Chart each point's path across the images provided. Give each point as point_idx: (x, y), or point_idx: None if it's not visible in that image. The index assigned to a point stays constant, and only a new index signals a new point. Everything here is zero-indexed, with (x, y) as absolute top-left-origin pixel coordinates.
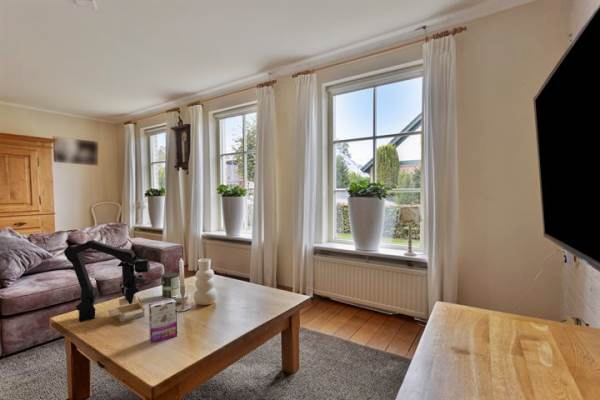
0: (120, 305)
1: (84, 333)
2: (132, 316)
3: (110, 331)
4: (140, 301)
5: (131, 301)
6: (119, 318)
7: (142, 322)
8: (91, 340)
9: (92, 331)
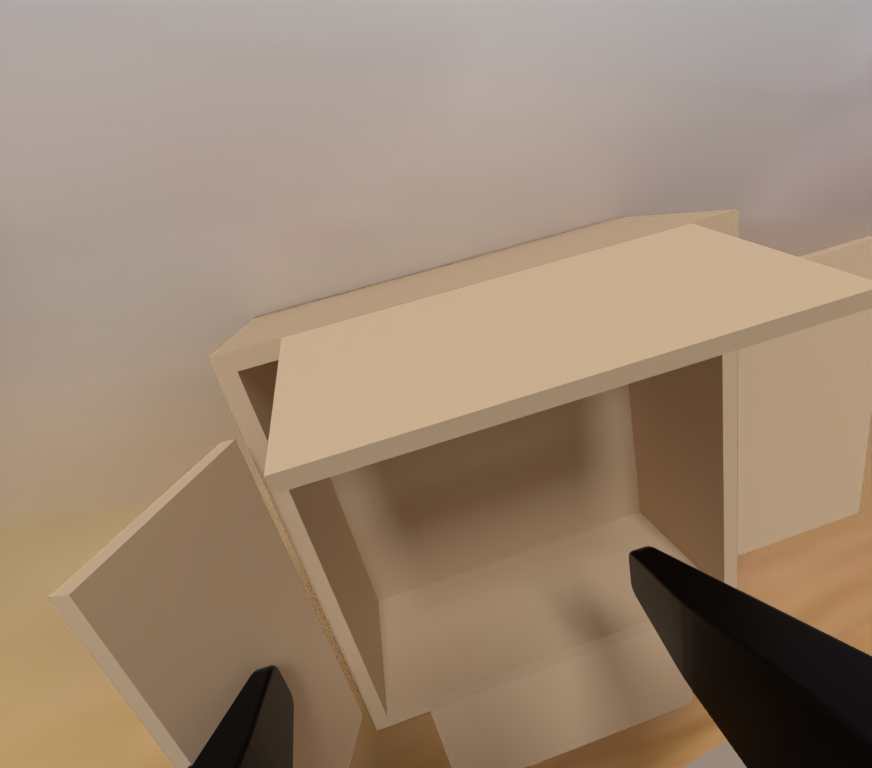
0: (354, 710)
1: (692, 736)
2: (662, 404)
3: (803, 558)
4: (594, 330)
5: (724, 603)
6: (585, 556)
7: (816, 245)
8: (865, 648)
9: (693, 696)
